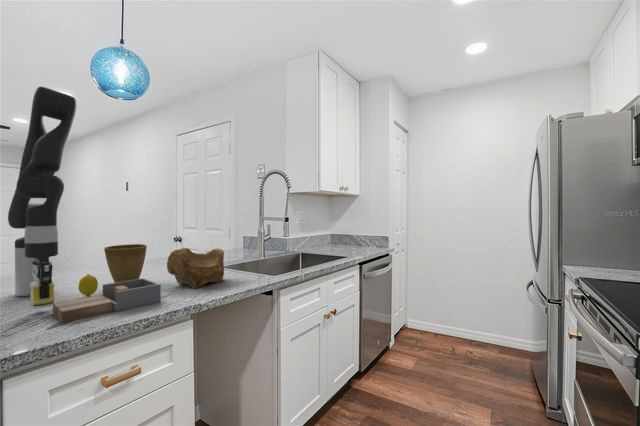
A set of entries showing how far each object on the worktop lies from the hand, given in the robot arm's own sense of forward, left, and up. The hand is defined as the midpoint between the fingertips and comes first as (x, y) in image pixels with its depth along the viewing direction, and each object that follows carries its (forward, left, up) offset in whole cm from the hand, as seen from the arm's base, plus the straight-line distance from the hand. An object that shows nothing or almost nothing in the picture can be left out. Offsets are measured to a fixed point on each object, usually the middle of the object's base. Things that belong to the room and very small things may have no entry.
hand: (42, 296), depth 94 cm
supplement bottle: (0, 0, -3) cm, 3 cm away
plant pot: (-18, +29, -5) cm, 34 cm away
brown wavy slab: (+10, +8, -5) cm, 13 cm away
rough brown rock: (+4, +49, -5) cm, 49 cm away
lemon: (-9, +14, -5) cm, 17 cm away
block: (+10, +17, -2) cm, 20 cm away
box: (+10, +21, -5) cm, 24 cm away
